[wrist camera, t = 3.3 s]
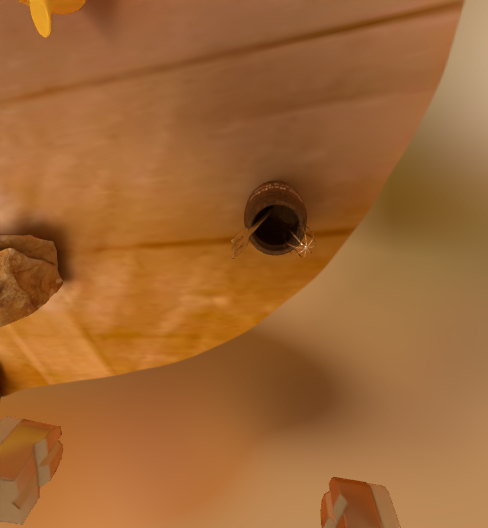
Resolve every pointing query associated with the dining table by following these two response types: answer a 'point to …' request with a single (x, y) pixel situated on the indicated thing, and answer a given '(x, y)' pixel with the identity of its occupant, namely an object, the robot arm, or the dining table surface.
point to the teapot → (50, 11)
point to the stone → (26, 275)
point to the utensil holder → (273, 220)
